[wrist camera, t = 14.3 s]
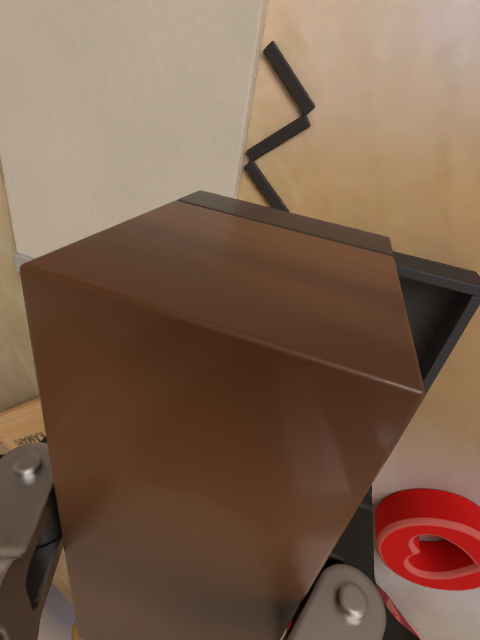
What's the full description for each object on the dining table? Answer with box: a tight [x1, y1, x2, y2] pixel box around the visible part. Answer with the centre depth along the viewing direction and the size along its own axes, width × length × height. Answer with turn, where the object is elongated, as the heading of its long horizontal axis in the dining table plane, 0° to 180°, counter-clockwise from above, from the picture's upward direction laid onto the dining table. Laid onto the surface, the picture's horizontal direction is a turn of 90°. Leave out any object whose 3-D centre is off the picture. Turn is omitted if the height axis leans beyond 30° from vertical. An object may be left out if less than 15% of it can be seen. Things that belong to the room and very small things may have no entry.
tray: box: [385, 251, 480, 462], centre depth 26 cm, size 15×9×3 cm, turn 170°
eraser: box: [20, 190, 425, 640], centre depth 10 cm, size 12×5×6 cm, turn 170°
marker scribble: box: [244, 41, 315, 212], centre depth 22 cm, size 9×4×1 cm, turn 170°
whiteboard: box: [0, 0, 268, 273], centre depth 24 cm, size 23×18×1 cm
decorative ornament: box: [375, 489, 480, 591], centre depth 32 cm, size 10×10×3 cm
